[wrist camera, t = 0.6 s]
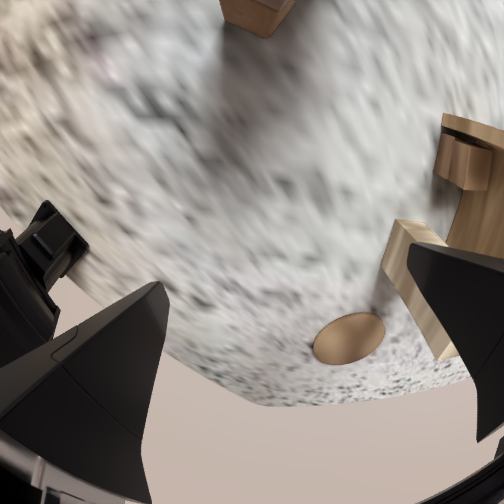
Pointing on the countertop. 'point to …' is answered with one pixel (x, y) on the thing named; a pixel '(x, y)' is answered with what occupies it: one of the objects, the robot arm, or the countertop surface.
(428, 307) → the pale wood block
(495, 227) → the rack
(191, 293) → the countertop surface
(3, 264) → the robot arm
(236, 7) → the wooden block
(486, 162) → the offcut upper
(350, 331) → the coaster
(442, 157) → the offcut lower
